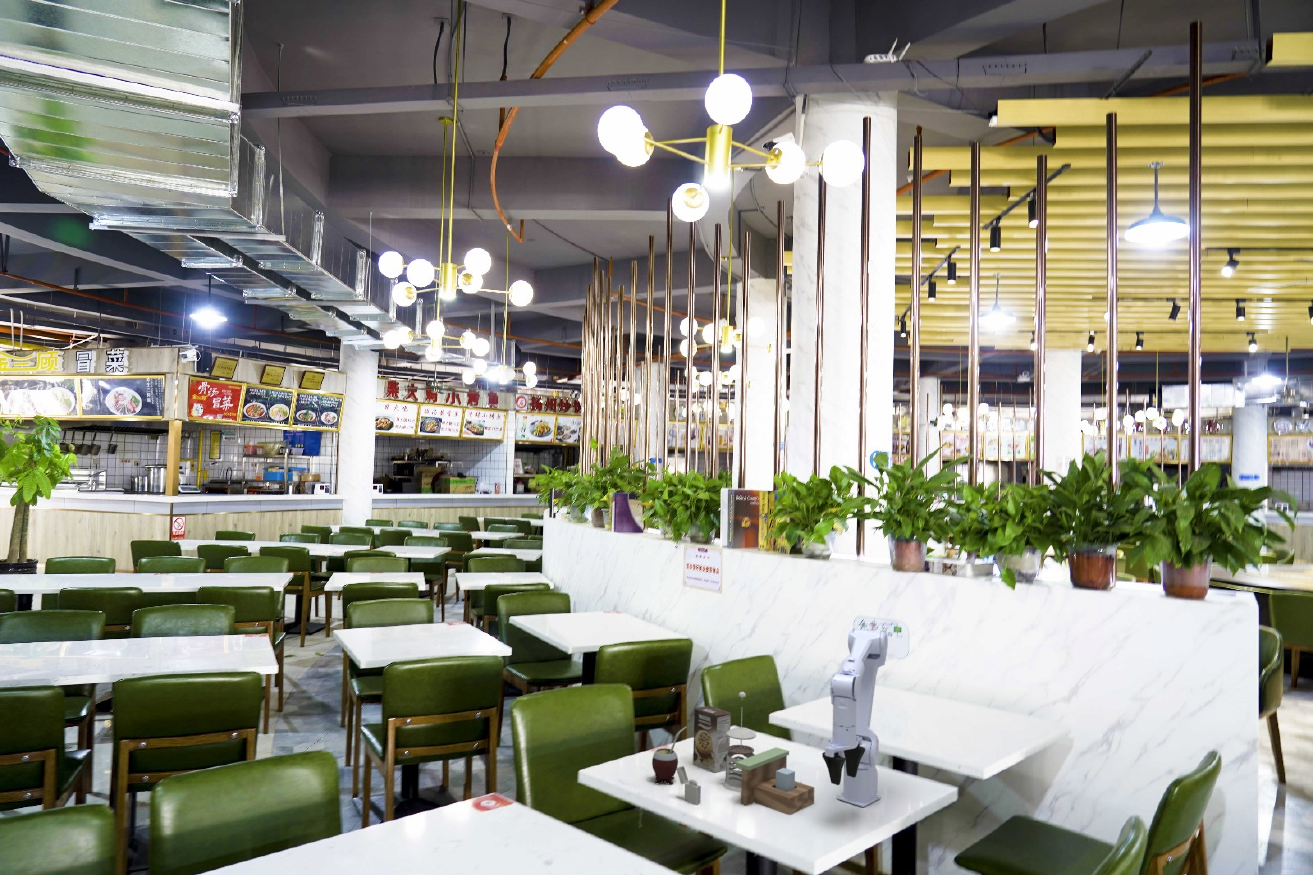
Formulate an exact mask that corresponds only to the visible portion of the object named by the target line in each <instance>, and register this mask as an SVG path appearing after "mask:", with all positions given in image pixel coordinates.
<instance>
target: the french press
mask: <svg viewBox="0 0 1313 875" xmlns="http://www.w3.org/2000/svg"><path fill="white" fill-rule="evenodd" d="M738 697H740V698H741V699H744V698H745V697H747V696H746V693H745V692H744V691H740V692H739V693H738ZM740 709H741V715H740V718H741V720H740V722H741V723H740V726H741V727H739V726H738V727H734V728H730V730H729V731H728V732H727V735H728V736H729V737H730V739H734V740H738V741H739V740H740V744H734V745H733V744H732V745H730V747H728V750H729V752H728V753H727V764H726V763H724V762H723V761H722V760H721V759H720V757H719V755H718V745H719V743H720V742H721V741H723V740H726V743H728V738H727V737H724V738H727V739H724V738H722V739H723V740H722V739H721V740H720V741H719V743H718V745H717V748H716V756H717V755H718V756H717V759H718V758H719V759H720V760H721V762H723V763H724V764H726V766H725V765H724V764H722V763H721V762H720V761H719V759H718V761H719V762H720V763H721V764H722V765H724V766H725V767H726V770H725V780H724V781H723V782H722V787H723V788H725V789H726V790H729V791H731V792H737V793H741V783H742V768H740V767H737V766H736V762H738V761H740V760H743V759H746V758H748V757H751V756H754V755H756V754H755V753H754V752H755V749H754V748H753V747H751V746H749V745H744V744H742V743H743V742H742V741H744V740H747V741H748V740H753V739H755V738H756V737H757V733H755V732H754V731H753V730H752V729H751V728H750V729H749V728H748V727H744V726H743V708H740ZM735 755H738V756H735ZM739 755H741V756H739ZM736 769H738V770H736Z"/></svg>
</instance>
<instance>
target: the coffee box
mask: <svg viewBox="0 0 1313 875" xmlns="http://www.w3.org/2000/svg"><path fill="white" fill-rule="evenodd" d="M731 716H732V713H731V712H730V711H727V710H724V709H720V708H717V707H714V706H710V705H706V706H705V705H704V706H700V707H695V708H694V717H693V718H694V719H693V724H694V725H693V750H692V751H693V753H692V755H693V756H692V765H694V766H696V767H699V768H701V769H703V770H706V771H709V772H712V773H714V774H716V773H719V772H723V771H726V767H725V766H726V764H727V753H728V752H729V750H728V747H730V746H731V743H730V742H731V737H729V736H728V735H727V732H728V731H729V730H731V722H732V720H731V718H732V717H731ZM724 737H727V738H728V743H726V740H723V739H722V738H724ZM727 738H724V739H727ZM721 739H722V740H723V741H721V742H720V743H719V741H720V740H721ZM718 743H719V745H718ZM717 745H718V755H719V757H720V759H721V760H722V761H723V762H724V763H726V764H724V763H723V762H721V760H720V759H719V758H718V759H719V761H720V762H721V763H722V764H724V765H725V766H724V765H722V764H721V763H720V762H719V761H718V759H717V756H718V755H717V756H716V748H717Z"/></svg>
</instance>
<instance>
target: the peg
mask: <svg viewBox="0 0 1313 875" xmlns="http://www.w3.org/2000/svg"><path fill="white" fill-rule="evenodd" d="M795 781H796V771H794V770H792V769H789V768H787V767H786V768H782V769H780V770H777V771H776V789H780V790H783V791H786V792H788V791H790V790H792V789H795Z"/></svg>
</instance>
